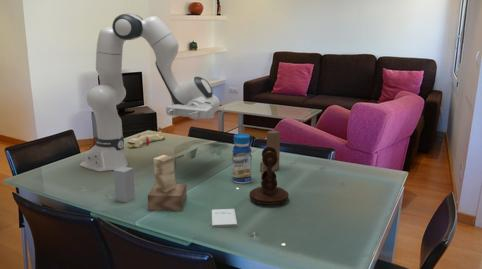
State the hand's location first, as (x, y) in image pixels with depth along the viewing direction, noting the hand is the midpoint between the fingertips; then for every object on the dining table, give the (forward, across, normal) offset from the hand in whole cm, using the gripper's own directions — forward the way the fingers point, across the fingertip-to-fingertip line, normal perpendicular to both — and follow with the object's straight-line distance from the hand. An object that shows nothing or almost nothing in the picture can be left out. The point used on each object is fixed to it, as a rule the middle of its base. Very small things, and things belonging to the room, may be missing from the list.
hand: (179, 114), depth 173 cm
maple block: (+21, +7, +24) cm, 32 cm away
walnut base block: (+21, +8, +30) cm, 37 cm away
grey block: (+24, -10, +30) cm, 39 cm away
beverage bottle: (-13, +22, +29) cm, 39 cm away
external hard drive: (+24, +32, +30) cm, 50 cm away
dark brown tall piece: (+2, +40, +29) cm, 50 cm away
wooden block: (-31, +28, +29) cm, 51 cm away
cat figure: (-46, -52, +30) cm, 76 cm away
